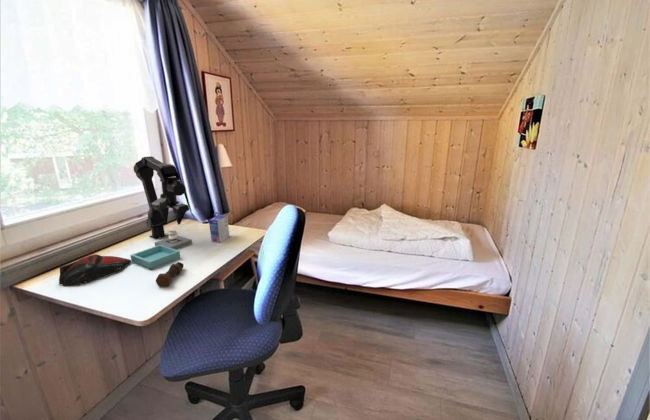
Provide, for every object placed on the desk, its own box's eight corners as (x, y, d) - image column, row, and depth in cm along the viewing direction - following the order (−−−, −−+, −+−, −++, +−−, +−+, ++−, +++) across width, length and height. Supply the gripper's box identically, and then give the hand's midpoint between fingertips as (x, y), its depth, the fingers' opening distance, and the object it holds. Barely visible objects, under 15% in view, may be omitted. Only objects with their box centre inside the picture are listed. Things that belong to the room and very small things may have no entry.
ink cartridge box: (220, 235, 171) (218, 210, 167) (229, 236, 170) (228, 210, 166) (210, 242, 161) (208, 215, 157) (219, 243, 160) (217, 216, 156)
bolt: (182, 273, 133) (165, 290, 118) (172, 267, 132) (153, 284, 118) (188, 262, 132) (172, 278, 117) (177, 256, 131) (159, 272, 116)
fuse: (167, 245, 156) (166, 232, 154) (174, 243, 159) (173, 230, 157) (172, 247, 154) (171, 233, 152) (179, 244, 157) (178, 231, 155)
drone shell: (52, 288, 116) (47, 269, 113) (77, 265, 134) (73, 248, 132) (117, 282, 121) (113, 263, 119) (133, 261, 139) (130, 244, 137)
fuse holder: (155, 246, 154) (154, 242, 154) (176, 238, 164) (176, 235, 164) (170, 251, 149) (170, 247, 148) (192, 243, 159) (191, 239, 158)
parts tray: (131, 262, 137) (130, 254, 136) (161, 251, 149) (160, 244, 148) (150, 270, 131) (149, 262, 130) (180, 258, 142) (179, 251, 141)
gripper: (140, 192, 146) (144, 223, 150) (167, 198, 138) (171, 231, 143) (161, 187, 155) (165, 217, 160) (188, 193, 148) (191, 224, 152)
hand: (172, 222), depth 153 cm, fingers open, 9 cm apart
